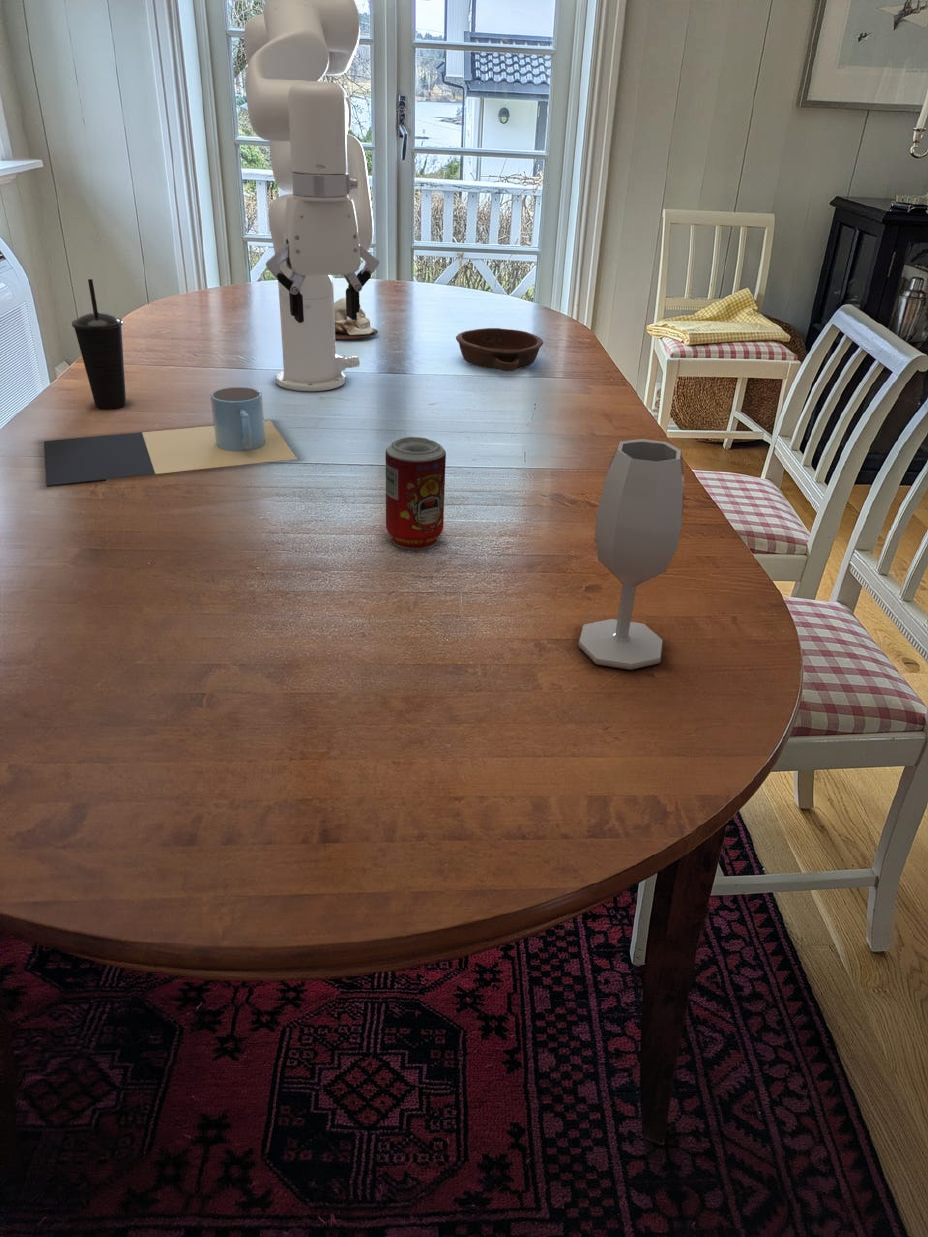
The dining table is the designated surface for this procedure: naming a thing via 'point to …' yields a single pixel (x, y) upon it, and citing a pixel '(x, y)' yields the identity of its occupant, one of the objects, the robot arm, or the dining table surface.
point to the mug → (238, 418)
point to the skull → (351, 323)
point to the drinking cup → (102, 355)
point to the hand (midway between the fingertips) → (325, 318)
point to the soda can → (415, 492)
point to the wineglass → (635, 544)
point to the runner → (151, 454)
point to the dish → (499, 348)
